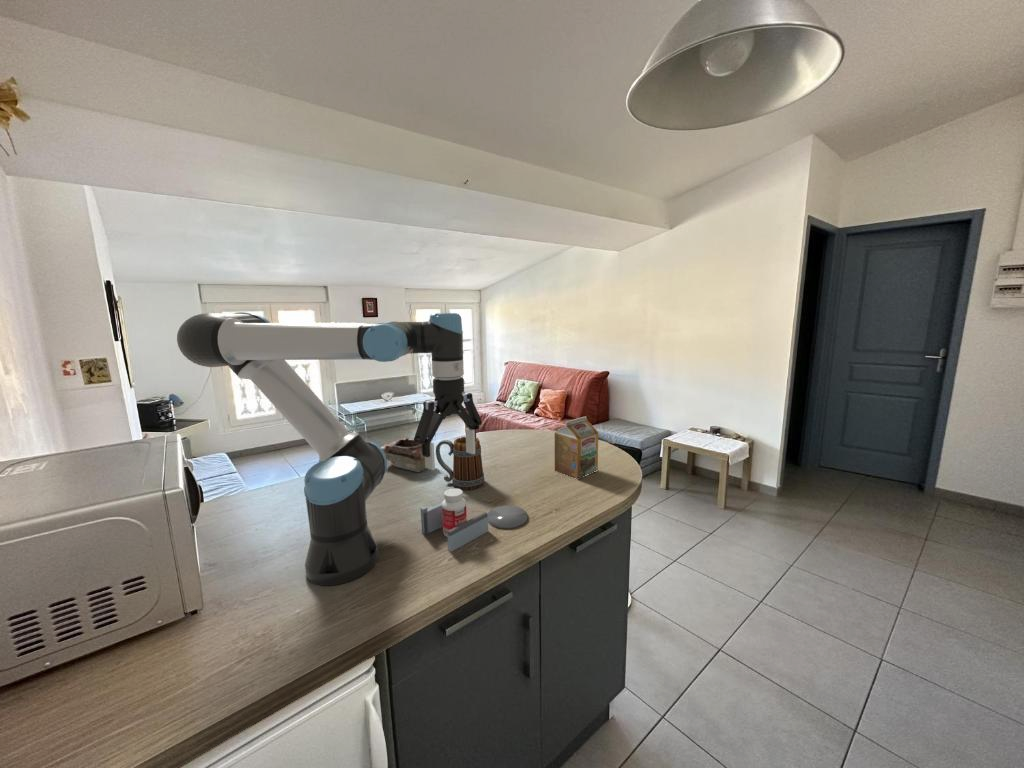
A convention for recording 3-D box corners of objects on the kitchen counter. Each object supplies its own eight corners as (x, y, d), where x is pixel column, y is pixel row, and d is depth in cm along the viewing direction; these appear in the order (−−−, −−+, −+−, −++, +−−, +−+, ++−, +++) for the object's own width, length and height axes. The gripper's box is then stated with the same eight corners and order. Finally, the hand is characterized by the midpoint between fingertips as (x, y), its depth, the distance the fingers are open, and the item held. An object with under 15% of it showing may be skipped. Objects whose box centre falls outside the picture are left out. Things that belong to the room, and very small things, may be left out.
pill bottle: (457, 541, 97) (455, 499, 95) (438, 535, 100) (435, 494, 98) (472, 529, 102) (470, 489, 100) (453, 523, 105) (451, 485, 103)
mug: (486, 477, 134) (485, 435, 132) (481, 491, 124) (479, 445, 121) (442, 476, 136) (440, 434, 133) (433, 489, 126) (430, 445, 123)
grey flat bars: (451, 552, 92) (449, 524, 91) (422, 533, 101) (420, 508, 99) (488, 531, 101) (487, 505, 100) (458, 515, 109) (457, 492, 108)
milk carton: (577, 480, 131) (577, 425, 127) (554, 470, 139) (554, 418, 135) (597, 471, 137) (598, 419, 134) (574, 463, 145) (575, 413, 142)
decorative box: (408, 479, 134) (406, 452, 132) (371, 468, 145) (369, 442, 143) (436, 467, 144) (434, 442, 143) (400, 457, 156) (398, 433, 154)
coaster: (507, 533, 100) (507, 530, 100) (478, 518, 107) (478, 516, 107) (535, 516, 108) (535, 514, 107) (506, 504, 115) (506, 501, 115)
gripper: (415, 386, 84) (420, 480, 87) (494, 372, 103) (495, 450, 106) (395, 382, 88) (400, 472, 92) (473, 370, 107) (475, 444, 111)
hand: (451, 460), depth 99 cm, fingers open, 13 cm apart
